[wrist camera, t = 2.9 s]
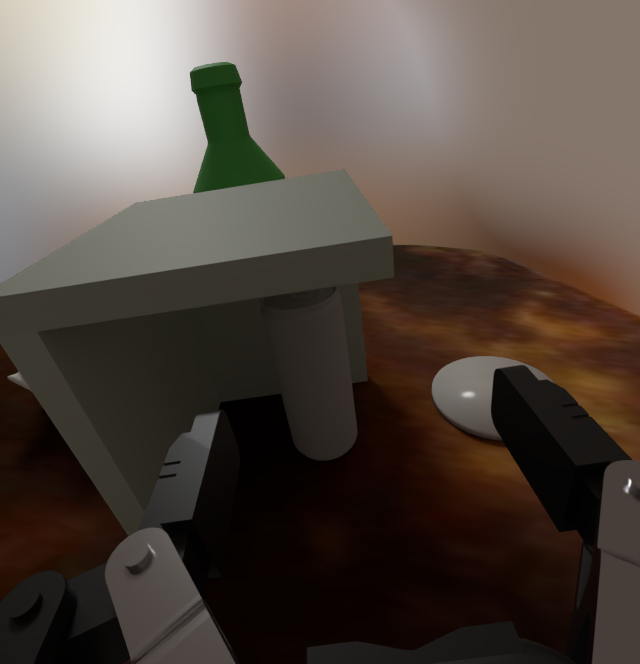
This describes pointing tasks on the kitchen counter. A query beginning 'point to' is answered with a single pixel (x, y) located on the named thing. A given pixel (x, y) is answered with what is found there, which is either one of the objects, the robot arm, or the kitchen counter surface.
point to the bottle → (227, 132)
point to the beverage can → (312, 369)
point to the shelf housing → (180, 315)
